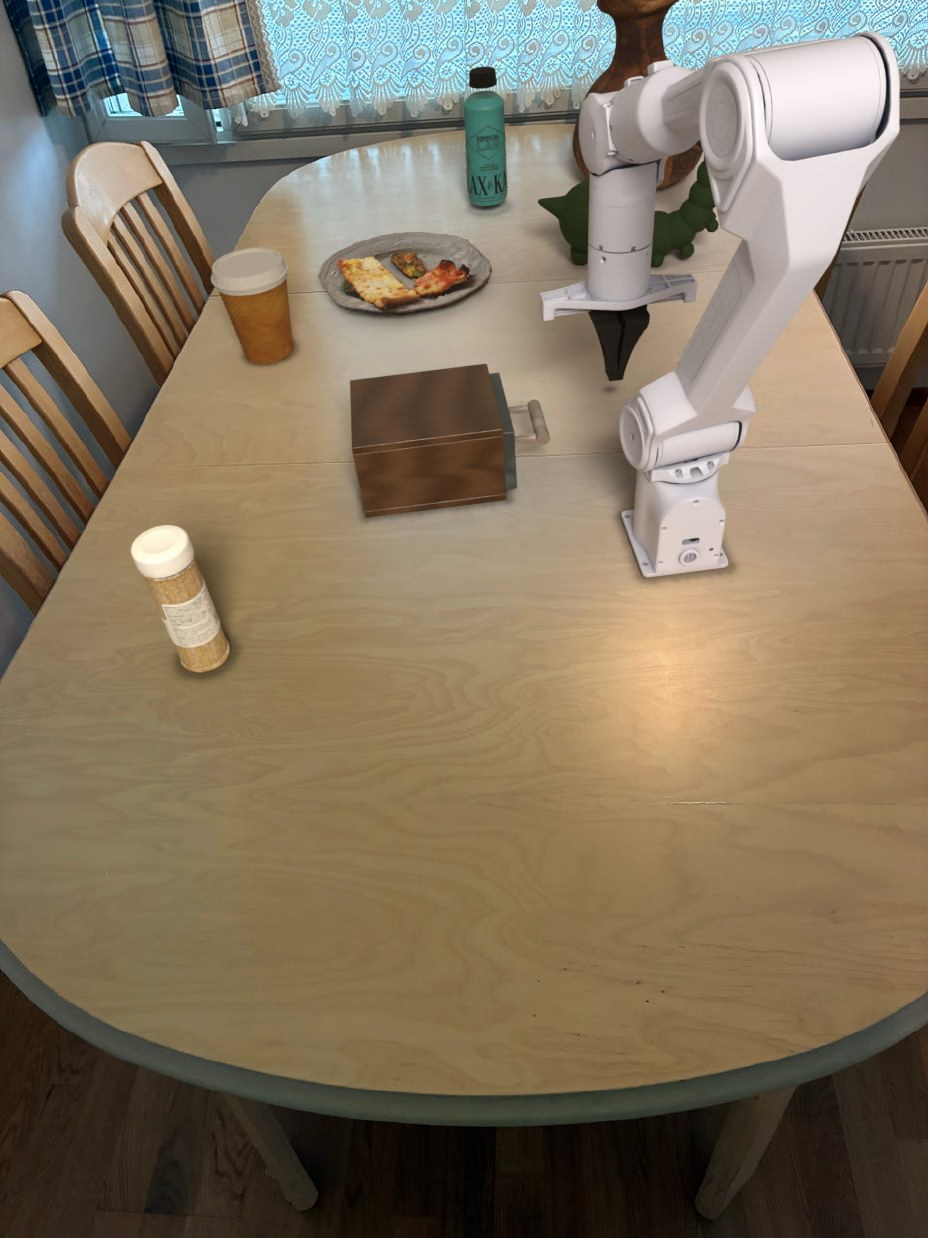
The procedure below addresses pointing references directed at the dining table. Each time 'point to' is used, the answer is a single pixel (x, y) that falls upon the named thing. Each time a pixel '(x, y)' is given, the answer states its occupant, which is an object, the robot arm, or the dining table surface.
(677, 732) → the dining table surface
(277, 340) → the disposable coffee cup
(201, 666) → the spice jar
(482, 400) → the cabinet
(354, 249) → the food plate
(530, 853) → the dining table surface
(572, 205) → the toy figurine
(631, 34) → the jug
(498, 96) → the beverage bottle
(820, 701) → the dining table surface
